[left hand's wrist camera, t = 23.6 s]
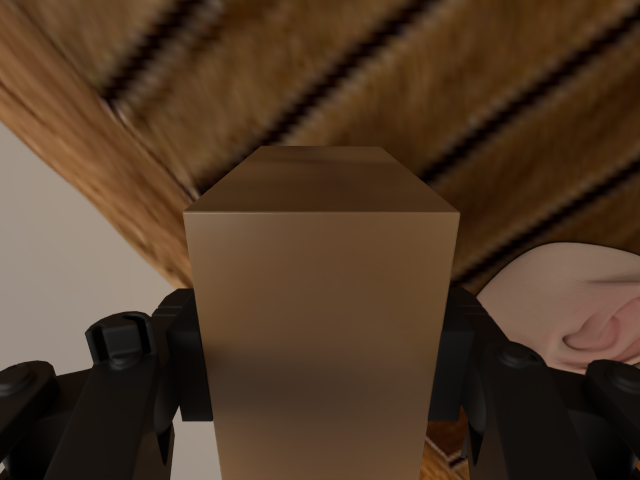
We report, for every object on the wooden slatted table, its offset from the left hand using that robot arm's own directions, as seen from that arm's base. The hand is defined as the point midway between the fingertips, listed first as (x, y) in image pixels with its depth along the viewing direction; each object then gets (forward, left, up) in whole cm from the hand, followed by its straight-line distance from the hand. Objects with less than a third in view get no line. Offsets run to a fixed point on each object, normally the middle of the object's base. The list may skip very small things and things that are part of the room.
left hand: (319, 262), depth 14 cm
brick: (0, 0, -3) cm, 3 cm away
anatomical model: (-8, +19, -11) cm, 24 cm away
